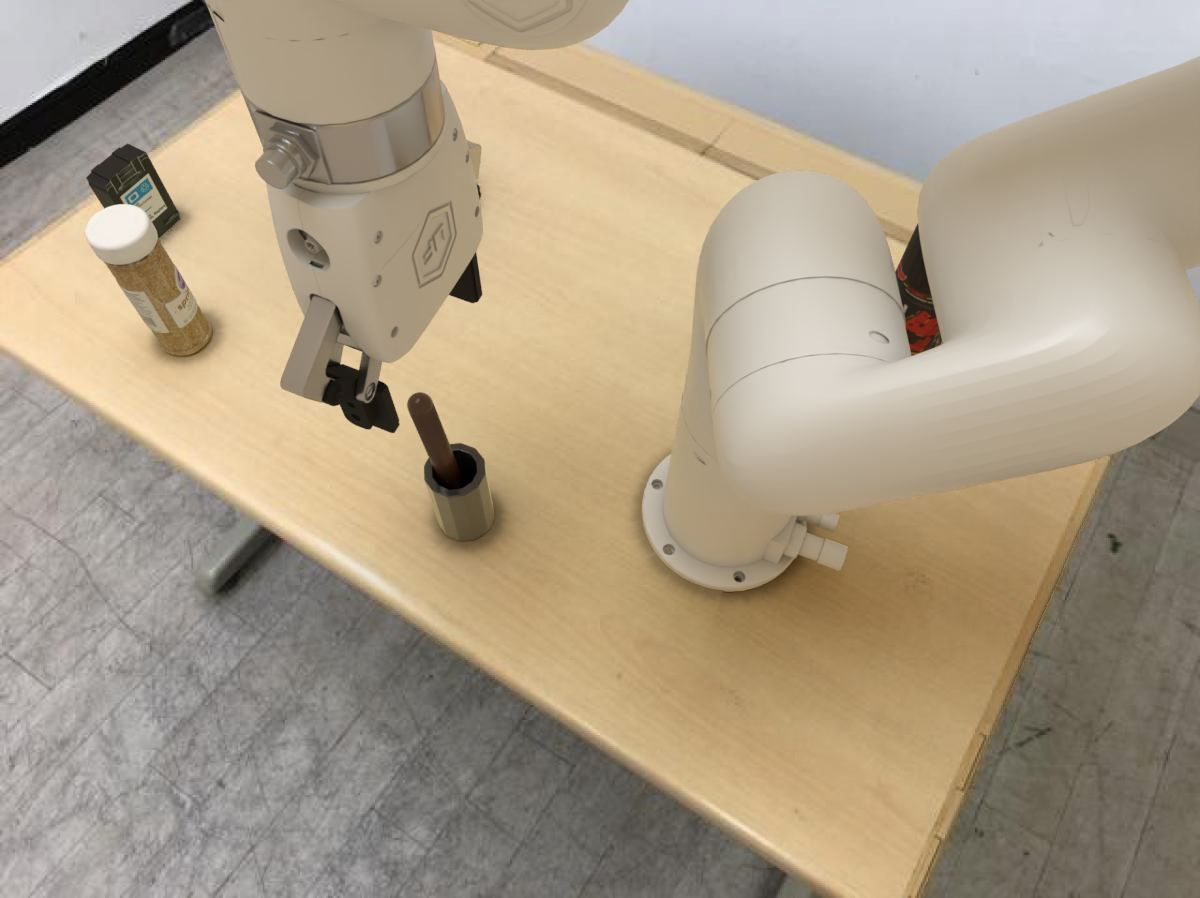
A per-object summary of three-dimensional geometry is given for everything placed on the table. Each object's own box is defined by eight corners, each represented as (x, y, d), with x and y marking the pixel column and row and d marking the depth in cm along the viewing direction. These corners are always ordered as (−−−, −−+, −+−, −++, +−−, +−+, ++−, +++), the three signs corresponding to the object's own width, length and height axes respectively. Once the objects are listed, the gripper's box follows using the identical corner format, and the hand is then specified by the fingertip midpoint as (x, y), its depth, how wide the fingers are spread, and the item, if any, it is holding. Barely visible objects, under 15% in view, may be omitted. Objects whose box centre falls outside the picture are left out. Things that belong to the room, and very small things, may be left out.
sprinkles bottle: (221, 342, 76) (156, 231, 64) (169, 366, 74) (93, 256, 63) (201, 307, 78) (135, 192, 66) (150, 329, 76) (73, 216, 65)
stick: (480, 510, 68) (434, 391, 54) (470, 527, 67) (422, 411, 54) (461, 503, 68) (412, 384, 55) (452, 521, 67) (399, 404, 54)
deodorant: (947, 342, 77) (1022, 218, 64) (910, 383, 75) (979, 263, 62) (891, 305, 79) (952, 178, 66) (852, 344, 77) (908, 219, 64)
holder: (503, 506, 68) (495, 455, 62) (479, 552, 67) (467, 505, 60) (455, 487, 69) (441, 435, 62) (430, 532, 67) (412, 483, 60)
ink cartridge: (144, 252, 81) (103, 186, 74) (125, 242, 81) (83, 176, 74) (182, 217, 83) (146, 150, 76) (163, 208, 83) (126, 140, 76)
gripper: (310, 282, 31) (399, 502, 45) (525, 3, 39) (541, 268, 53) (132, 217, 32) (274, 451, 47) (376, -39, 40) (431, 230, 55)
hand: (416, 353), depth 50 cm, fingers open, 9 cm apart
